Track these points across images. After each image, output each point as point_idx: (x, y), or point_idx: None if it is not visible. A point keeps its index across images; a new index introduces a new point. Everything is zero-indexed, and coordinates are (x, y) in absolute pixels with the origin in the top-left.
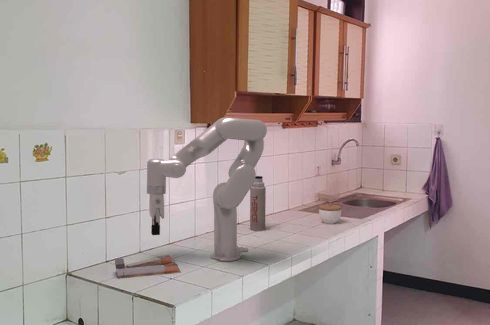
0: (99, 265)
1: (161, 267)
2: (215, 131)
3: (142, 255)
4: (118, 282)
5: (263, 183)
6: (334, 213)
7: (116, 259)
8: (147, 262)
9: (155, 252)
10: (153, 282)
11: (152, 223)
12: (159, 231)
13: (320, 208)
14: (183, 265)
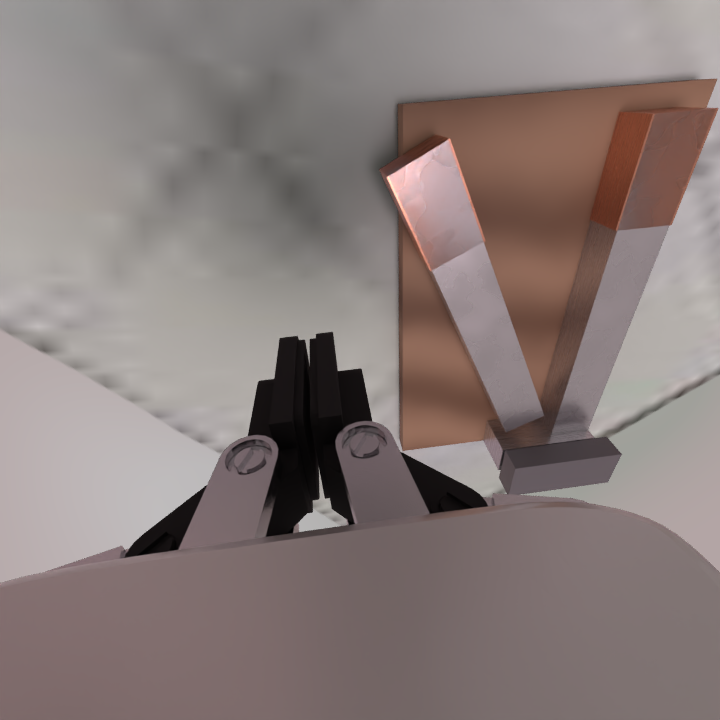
0: (319, 494)
1: (658, 247)
2: None
3: (133, 338)
4: None
5: None
6: None
7: (521, 489)
8: (515, 333)
9: (27, 249)
10: (683, 277)
11: (297, 523)
12: (334, 357)
13: None
14: (455, 12)
